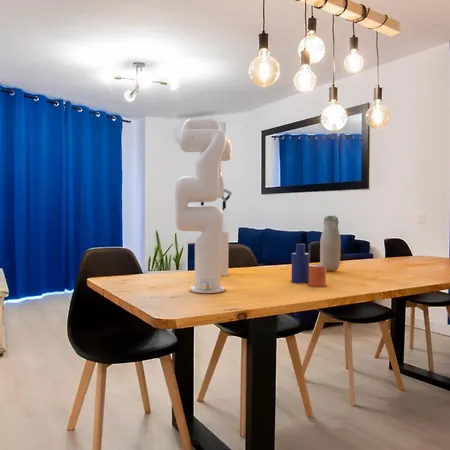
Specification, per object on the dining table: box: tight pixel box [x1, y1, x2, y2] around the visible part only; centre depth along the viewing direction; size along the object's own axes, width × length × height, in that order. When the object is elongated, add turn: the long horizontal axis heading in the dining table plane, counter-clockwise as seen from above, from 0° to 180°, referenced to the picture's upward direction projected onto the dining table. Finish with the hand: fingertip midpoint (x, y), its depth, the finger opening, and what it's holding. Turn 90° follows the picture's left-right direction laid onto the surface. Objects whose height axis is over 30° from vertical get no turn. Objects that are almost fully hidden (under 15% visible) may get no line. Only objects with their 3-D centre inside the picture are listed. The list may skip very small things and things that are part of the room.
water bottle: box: [291, 243, 310, 284], centre depth 185 cm, size 7×7×16 cm
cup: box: [307, 264, 327, 288], centre depth 176 cm, size 7×7×8 cm
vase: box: [220, 231, 229, 277], centre depth 208 cm, size 11×7×20 cm, turn 20°
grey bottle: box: [319, 215, 342, 272], centre depth 219 cm, size 10×10×28 cm
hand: (213, 210), depth 206 cm, fingers open, 9 cm apart
